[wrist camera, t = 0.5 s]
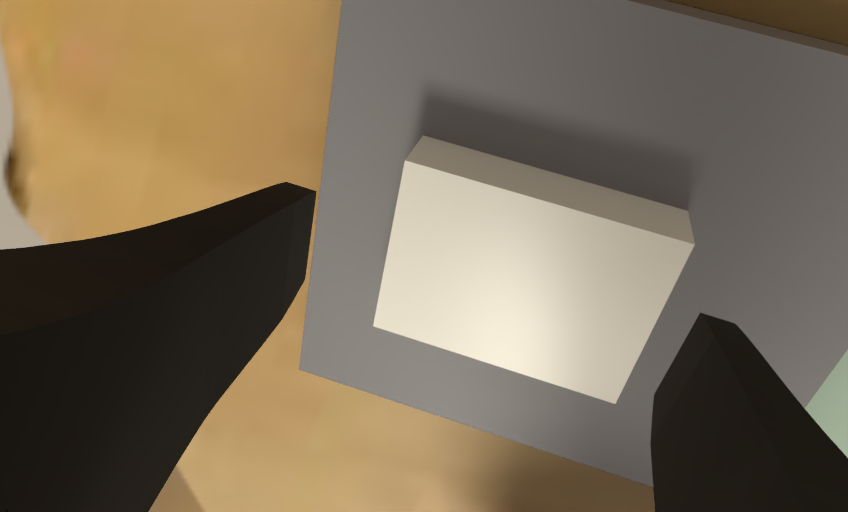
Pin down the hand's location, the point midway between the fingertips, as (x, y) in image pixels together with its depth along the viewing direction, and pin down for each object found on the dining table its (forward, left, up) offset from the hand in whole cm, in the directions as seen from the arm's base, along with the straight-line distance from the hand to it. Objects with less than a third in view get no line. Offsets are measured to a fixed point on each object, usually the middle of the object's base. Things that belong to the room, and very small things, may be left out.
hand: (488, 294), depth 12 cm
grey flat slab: (-4, -2, -10) cm, 11 cm away
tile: (-4, -1, -7) cm, 8 cm away
